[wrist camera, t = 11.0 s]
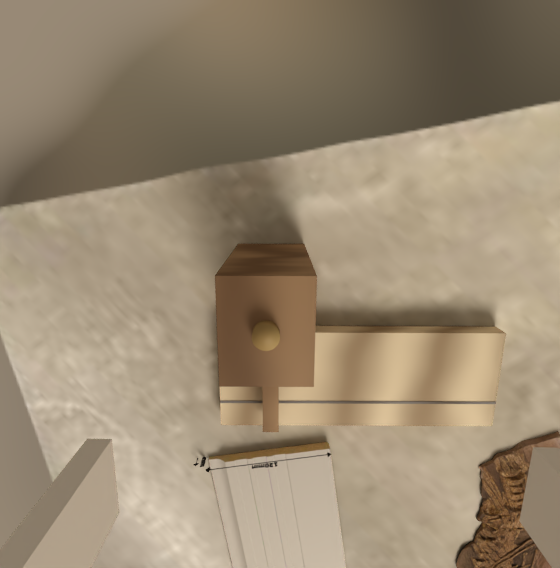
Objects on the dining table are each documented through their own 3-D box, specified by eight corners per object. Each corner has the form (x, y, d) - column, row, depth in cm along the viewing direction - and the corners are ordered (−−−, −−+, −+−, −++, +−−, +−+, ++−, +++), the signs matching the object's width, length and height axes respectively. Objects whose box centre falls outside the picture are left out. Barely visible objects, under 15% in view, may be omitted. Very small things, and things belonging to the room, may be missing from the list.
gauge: (304, 243, 30) (317, 278, 19) (301, 408, 34) (311, 521, 22) (238, 243, 30) (213, 278, 19) (242, 408, 34) (222, 521, 22)
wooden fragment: (487, 424, 34) (493, 432, 33) (612, 435, 34) (622, 442, 33) (432, 644, 41) (435, 656, 40) (537, 652, 41) (544, 664, 40)
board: (495, 326, 32) (506, 333, 30) (482, 415, 34) (492, 426, 32) (220, 325, 32) (217, 332, 30) (223, 414, 34) (220, 425, 32)
